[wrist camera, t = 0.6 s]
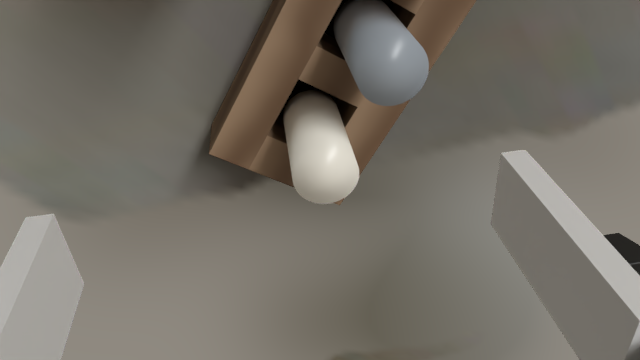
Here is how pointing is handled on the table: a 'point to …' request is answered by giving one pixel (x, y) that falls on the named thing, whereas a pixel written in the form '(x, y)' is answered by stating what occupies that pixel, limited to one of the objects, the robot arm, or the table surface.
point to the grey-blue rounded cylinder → (380, 52)
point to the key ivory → (319, 148)
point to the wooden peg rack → (314, 81)
